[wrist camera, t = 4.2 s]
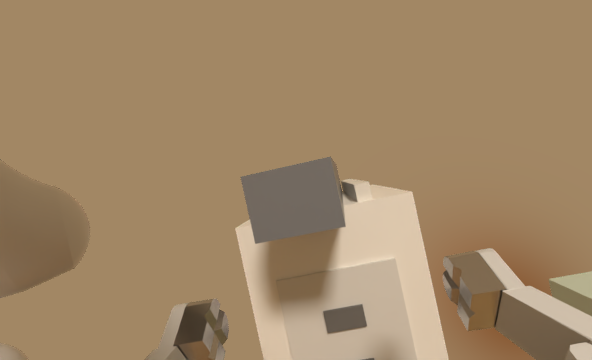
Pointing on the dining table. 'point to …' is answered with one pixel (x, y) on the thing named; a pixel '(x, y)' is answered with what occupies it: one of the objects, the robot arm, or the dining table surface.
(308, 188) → the bar
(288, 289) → the outlet wall
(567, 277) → the pale green block
